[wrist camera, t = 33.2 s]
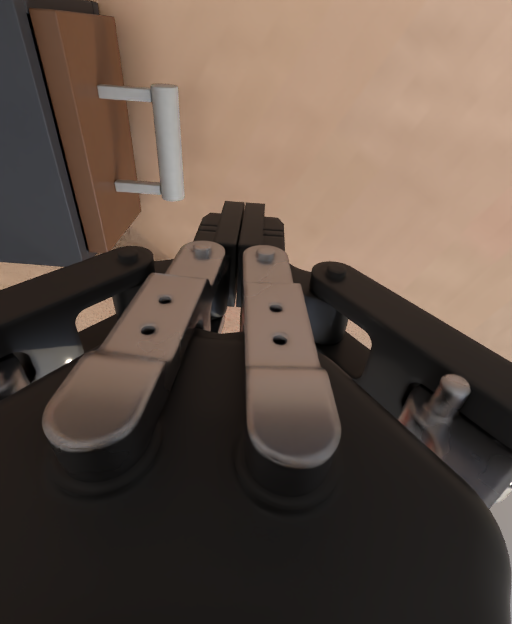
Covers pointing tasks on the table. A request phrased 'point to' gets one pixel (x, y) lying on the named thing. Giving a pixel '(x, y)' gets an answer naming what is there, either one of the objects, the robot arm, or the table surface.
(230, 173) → the table surface
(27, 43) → the desk cabinet
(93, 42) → the drawer
